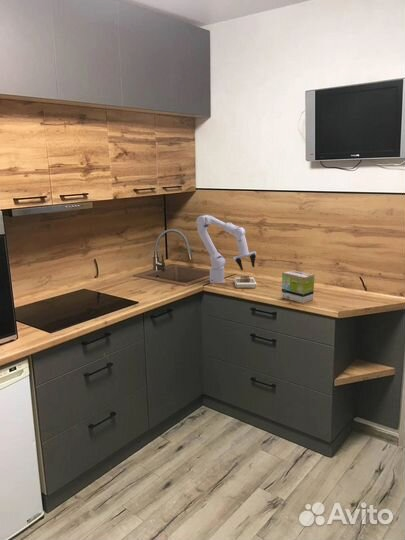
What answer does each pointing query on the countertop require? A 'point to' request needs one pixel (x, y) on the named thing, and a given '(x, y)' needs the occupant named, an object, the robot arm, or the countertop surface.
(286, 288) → the tea box
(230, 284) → the countertop surface
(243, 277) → the walnut block
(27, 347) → the countertop surface
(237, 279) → the white tray
